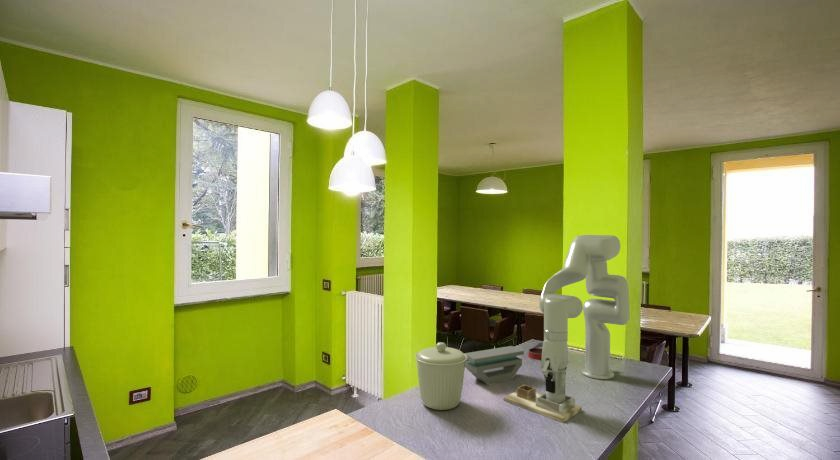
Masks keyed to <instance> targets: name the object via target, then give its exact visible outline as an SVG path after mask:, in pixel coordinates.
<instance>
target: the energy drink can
mask: <svg viewBox="0 0 840 460" xmlns="http://www.w3.org/2000/svg"><path fill="white" fill-rule="evenodd" d="M549 370H551V371H552V368H549ZM549 374H550V375H551V376H552V373H551V372H549ZM554 381H555V393H551V392H548V391H546V390H545V392H546V399H547V400H549V401H552V402H555V403H558V404H562V403H563V402H565V395H566V375H565V362H564V361H563V359H562V361H561V363H560V364H559V368H558V371H557V372H555V378H554Z"/></svg>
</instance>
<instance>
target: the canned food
mask: <svg viewBox="0 0 840 460" xmlns="http://www.w3.org/2000/svg"><path fill="white" fill-rule="evenodd" d="M543 342H544V341H542V342H540V343H538V344H536V345H535V346H533V347H531V348H529V349H528V358H530V359H531V360H532V359H533V360H536V361H541V359H542V348H541V347H543Z"/></svg>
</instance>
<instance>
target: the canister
mask: <svg viewBox="0 0 840 460" xmlns="http://www.w3.org/2000/svg"><path fill="white" fill-rule="evenodd" d="M414 359H415V360H416V364H417V365H416V366H417V375H418V376H417V378H418V386H419V393H420V399H421V402H422V403H423V404H424V406H425V407H427V408H430V409H432V410H435V411H436V410H437V411H448V410H451V409H454V408H456V407H457V406H458V405H459V403H460V401H461V399H462V393H463V386H464V378H465V376H464V375H465V368H466V367H465V362H466V361H468V360H467V355H466V354H464V352H463V351H461V350H459V349H457V348H453V347H448V346H447V344H446V343H445V342H441V341H440V342H437V343H436V344H435V346H430V347H426V348H423V349H420V351H418V352H416V353H415V354H414Z"/></svg>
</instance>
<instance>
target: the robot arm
mask: <svg viewBox="0 0 840 460" xmlns="http://www.w3.org/2000/svg"><path fill="white" fill-rule="evenodd" d="M620 251H621V240H620V238H619V237H618V236H616V235H612V234H611V235H609V234H607V235H606V234H604V235H603V234H600V235H599V234H582V235H577V236H575V237H574V239H573V240H572V241H571V242H570V245H569V248H568V251H567V254H566V257H565V261H564V264H563V267H562V268H561V269H560V270H558V271H557V272H556V273H554V274H553V275H552V276H551V277H550V278H548V279H547V281H546V282H545V284H544V285H543V288H542V291H541V294H540V297H539V302H538V304H539V309H540V311H541V312H542V313H543V341H542V342H543V346H542V348H541V349H542V359H541V360H540V361H541V362H540V363H541V367H540V368H541V373H542V374H543V376H544V380H545V392H546V391H548V392H551V393H555V381H554V378H555V372H557V371H558V368H559V364H560V363H561V361H562V359H563V361H564V362H565V376H566V374H567V369H568V367H567V366H568V364H569V351H568V341H569V340H568V332H569V330H568V328H569V327H568V326H569V325H568V322H569V321H568V320H569V319H576V318H577V317H579V316H581V314H582V313H583V316H584V317H583V318H584V323H585V324H584V328H585V329H584V331H585V333H584V334H585V335H584V337H585V345H584V347H585V349H584V350H585V353H584V360H585V361H584V363H585V364H584V367H582V368H581V369H580V370H581V374H582V375H583V376H586V377H588V378H592V379H597V380H611V379H614V378H615V373H614V371H612V370H611V366H612V365H613V364H612V362H611V333H610V330H609V328H608V326H607V325H606V324H610V325H618V326H625V325H626V324H628V323H629V320H630V292H629V288H630V287H629V283H628V280H627V278H626V277H625V276H623V275H619V274H609V273H608V261H611V260H612V259H614V258H616V257H617V256H618V255H619V253H620ZM584 280H585V288H586V292H587V293H588V295H590V296H593V297H599V298H589V299H587V300H585V301H584V303H583V302H582V300H581V299H580V298H579V297H578V296H575V295H567V294H560V293H556V292H557V291H559V290H560V289H562V288H563V287H566V286H569V285H573V284H575V283H579V282H581V281H584ZM602 298H607V299H602ZM611 299H613V300H611ZM549 368H552V371H551V370H549ZM549 372H551V373H552V376H551V375H550V374H549Z"/></svg>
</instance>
